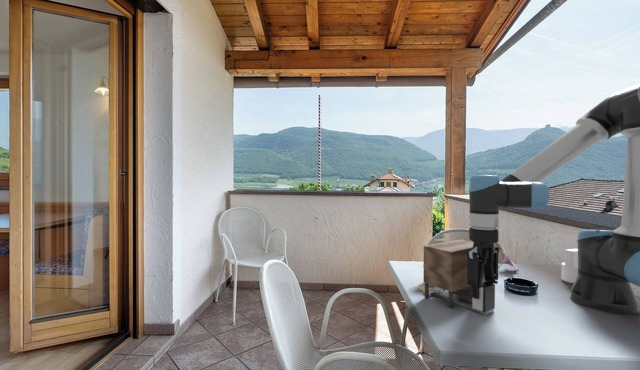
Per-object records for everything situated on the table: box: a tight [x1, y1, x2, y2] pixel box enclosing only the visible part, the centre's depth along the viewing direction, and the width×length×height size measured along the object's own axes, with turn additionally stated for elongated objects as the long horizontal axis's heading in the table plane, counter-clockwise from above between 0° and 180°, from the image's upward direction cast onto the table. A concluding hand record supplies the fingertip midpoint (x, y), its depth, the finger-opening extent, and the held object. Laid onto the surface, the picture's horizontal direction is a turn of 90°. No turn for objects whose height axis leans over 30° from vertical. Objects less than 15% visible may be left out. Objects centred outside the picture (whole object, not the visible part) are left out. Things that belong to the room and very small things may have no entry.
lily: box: [498, 247, 519, 274], centre depth 124 cm, size 12×12×10 cm
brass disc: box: [418, 284, 432, 292], centre depth 102 cm, size 4×4×1 cm
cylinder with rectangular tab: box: [561, 248, 578, 284], centre depth 111 cm, size 9×9×12 cm
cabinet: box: [423, 239, 487, 309], centre depth 96 cm, size 10×20×17 cm, turn 122°
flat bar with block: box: [422, 281, 496, 316], centre depth 92 cm, size 20×8×8 cm, turn 32°
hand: (483, 306), depth 85 cm, fingers closed on flat bar with block, 5 cm apart
